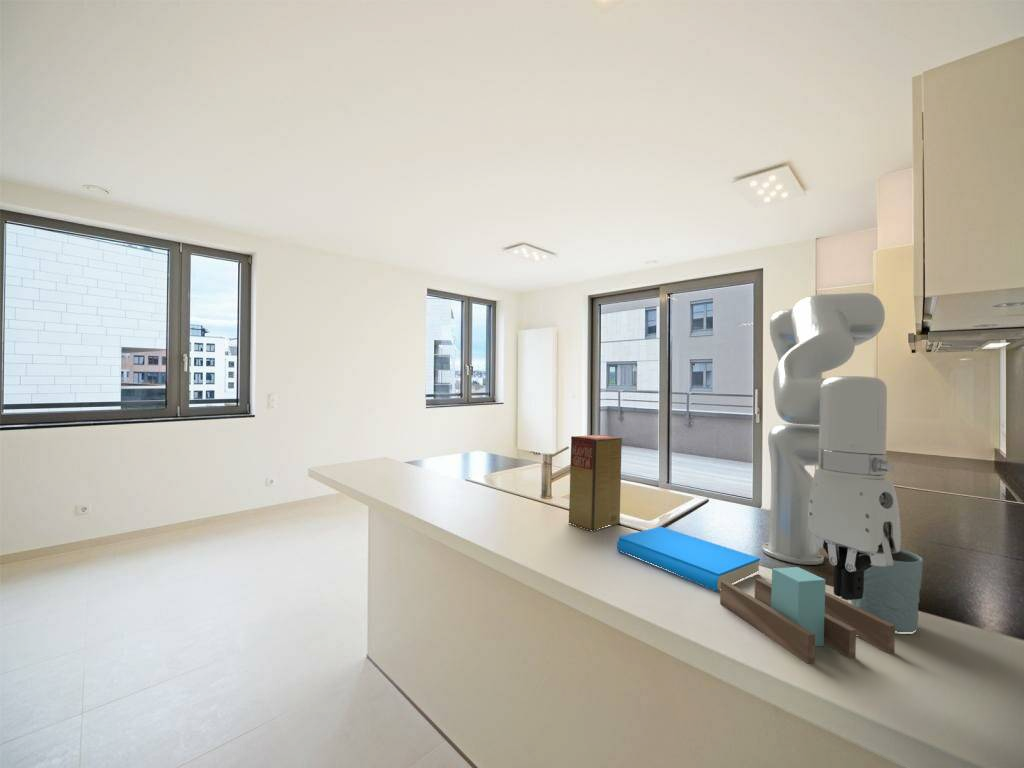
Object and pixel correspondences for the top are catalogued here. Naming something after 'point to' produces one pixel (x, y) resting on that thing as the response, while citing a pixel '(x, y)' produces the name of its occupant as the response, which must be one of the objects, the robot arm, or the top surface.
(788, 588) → the block
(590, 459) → the food packaging
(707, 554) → the book
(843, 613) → the slot rack
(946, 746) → the top surface
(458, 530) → the top surface
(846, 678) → the top surface
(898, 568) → the blue plant pot
